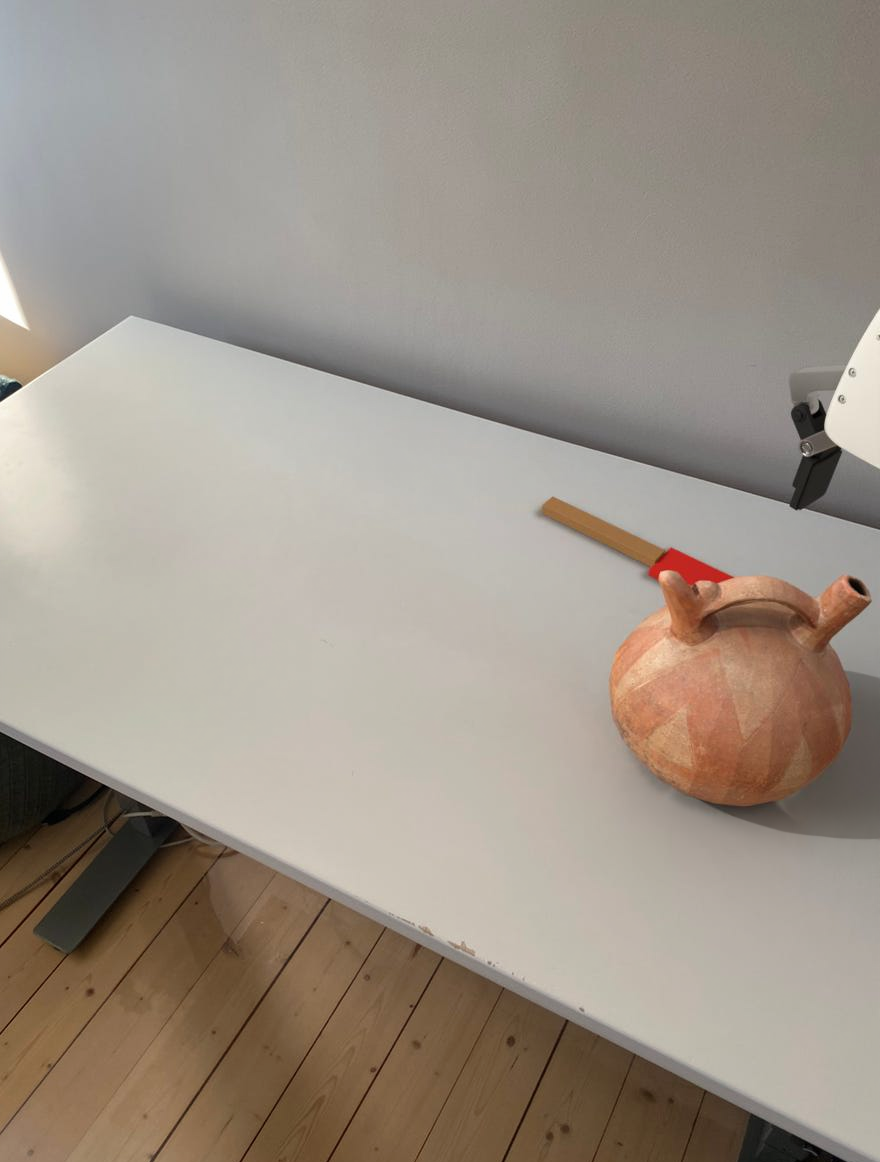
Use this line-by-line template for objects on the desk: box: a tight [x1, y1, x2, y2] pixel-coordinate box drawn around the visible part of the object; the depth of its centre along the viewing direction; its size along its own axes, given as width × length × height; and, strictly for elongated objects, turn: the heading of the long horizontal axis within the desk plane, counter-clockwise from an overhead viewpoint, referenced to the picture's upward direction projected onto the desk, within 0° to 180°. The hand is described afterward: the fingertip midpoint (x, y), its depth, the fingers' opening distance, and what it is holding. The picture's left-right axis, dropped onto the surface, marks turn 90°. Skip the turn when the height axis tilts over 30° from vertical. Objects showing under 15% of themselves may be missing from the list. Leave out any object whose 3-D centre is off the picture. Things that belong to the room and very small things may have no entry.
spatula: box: [541, 496, 736, 586], centre depth 97 cm, size 4×22×1 cm, turn 49°
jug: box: [608, 570, 873, 807], centre depth 73 cm, size 18×18×20 cm
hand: (868, 538), depth 61 cm, fingers open, 9 cm apart
